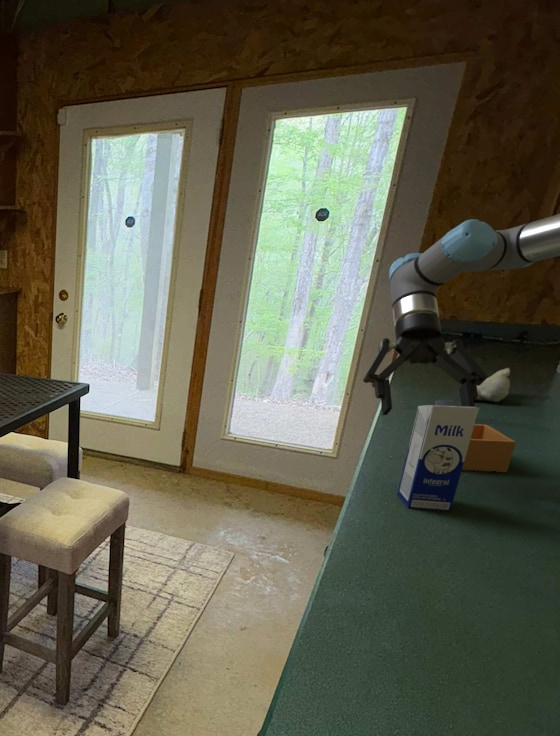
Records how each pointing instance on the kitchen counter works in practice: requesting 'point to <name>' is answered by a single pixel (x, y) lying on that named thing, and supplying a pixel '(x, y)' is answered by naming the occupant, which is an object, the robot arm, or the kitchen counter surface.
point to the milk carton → (436, 455)
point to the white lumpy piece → (494, 387)
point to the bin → (488, 450)
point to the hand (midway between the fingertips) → (427, 413)
